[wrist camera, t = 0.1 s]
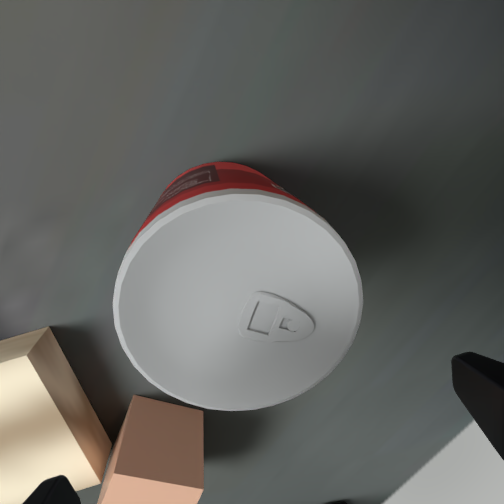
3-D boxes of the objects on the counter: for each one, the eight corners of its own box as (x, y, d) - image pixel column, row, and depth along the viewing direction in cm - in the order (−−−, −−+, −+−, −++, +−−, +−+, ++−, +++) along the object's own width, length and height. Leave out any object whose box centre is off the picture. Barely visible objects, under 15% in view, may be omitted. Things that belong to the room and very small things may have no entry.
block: (203, 410, 26) (203, 489, 20) (179, 462, 27) (173, 550, 21) (133, 394, 24) (113, 473, 19) (112, 449, 26) (87, 538, 20)
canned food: (283, 285, 23) (348, 409, 13) (156, 284, 22) (116, 420, 12) (295, 163, 21) (387, 197, 11) (153, 155, 20) (100, 184, 9)
